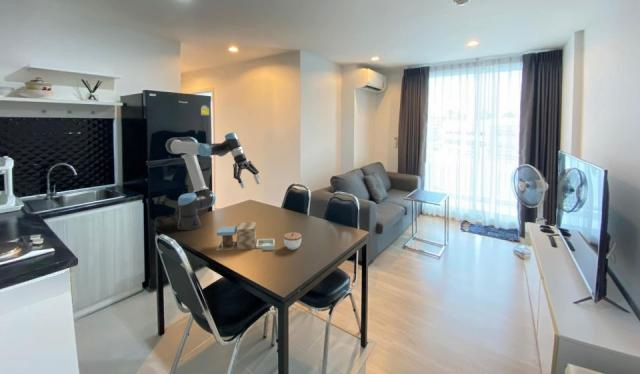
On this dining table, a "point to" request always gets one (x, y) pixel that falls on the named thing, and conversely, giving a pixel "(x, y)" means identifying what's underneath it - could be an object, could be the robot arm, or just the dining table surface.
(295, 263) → the dining table surface
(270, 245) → the tray
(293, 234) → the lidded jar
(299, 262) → the dining table surface
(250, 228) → the brown patterned stepped stand
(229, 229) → the slide cover
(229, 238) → the treat block
